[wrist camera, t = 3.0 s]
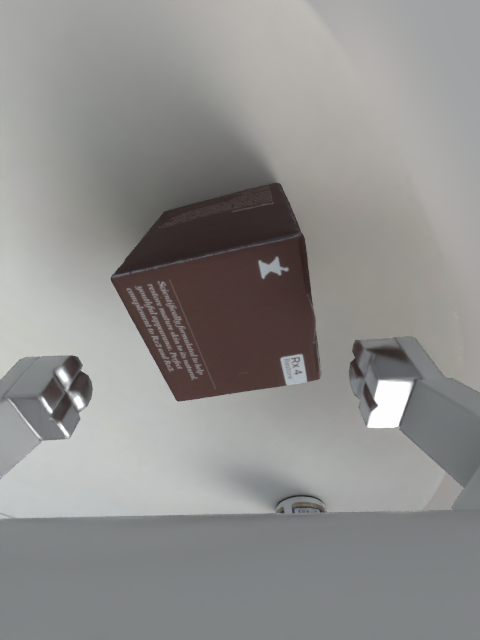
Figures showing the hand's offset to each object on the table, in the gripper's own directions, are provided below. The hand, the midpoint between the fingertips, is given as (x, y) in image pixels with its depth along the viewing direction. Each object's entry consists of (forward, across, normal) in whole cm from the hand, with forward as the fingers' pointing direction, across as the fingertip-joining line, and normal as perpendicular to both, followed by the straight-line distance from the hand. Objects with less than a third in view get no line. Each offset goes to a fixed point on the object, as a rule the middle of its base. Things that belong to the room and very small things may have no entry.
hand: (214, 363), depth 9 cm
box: (+9, 0, 0) cm, 9 cm away
